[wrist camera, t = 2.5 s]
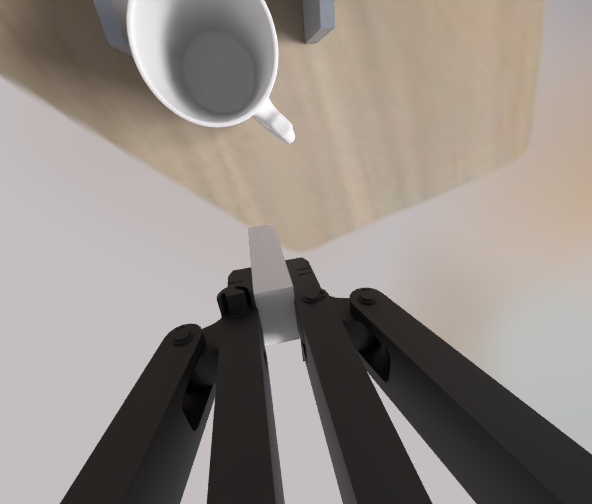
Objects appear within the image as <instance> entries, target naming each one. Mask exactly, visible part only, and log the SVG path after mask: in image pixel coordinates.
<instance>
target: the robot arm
mask: <svg viewBox="0 0 592 504" xmlns="http://www.w3.org/2000/svg"><path fill="white" fill-rule="evenodd" d="M248 234H249V245H250V257H251V268H245V269H240V270H234V271H232V273H231V274H230V275H229V277H228V287H227V288H225V289H223V290H222V291H221V292H220V293H219V294H218V296H217V302H218V305H219V308H220V311H221V315H222V318H221V319H220V320H219V321H217V322H216V323H214V324H212V325H210V326H208V327H206V328H203V329H201V327H200V326H198V325H196V324H186V325H181V326H179V327H177V328H175V329H174V330H172V331H171V332H169V333H168V334H167V336H166V337H165V338H164V340H163V341H162V343H161V344H160V346H159V347H158V349H157V351H156V352H155V354H154V355H153V357H152V359H151V360H150V362H149V363H148V365H147V366H146V368H145V370H144V371H143V373H142V374H141V376H140V378H139V379H138V381H137V382H136V384H135V386H134V387H133V389H132V390H131V392H130V393H129V395H128V397H127V398H126V400H125V402H124V403H123V405H122V406H121V408H120V409H119V411H118V413H117V414H116V416H115V417H114V419H113V420H112V422H111V424H110V425H109V427H108V428H107V430H106V432H105V433H104V435H103V436H102V438H101V440H100V441H99V443H98V444H97V446H96V447H95V449H94V451H93V452H92V454H91V455H90V457H89V458H88V460H87V462H86V463H85V465H84V466H83V468H82V470H81V471H80V473H79V475H78V476H77V478H76V479H75V481H74V482H73V484H72V485H71V487H70V489H69V490H68V492H67V493H66V495H65V497H64V498H63V500H62V501H61V503H60V504H180V502H181V499H182V496H183V493H184V489H185V487H186V483H187V481H188V478H189V474H190V471H191V468H192V465H193V462H194V459H195V456H196V453H197V450H198V447H199V444H200V441H201V438H202V435H203V432H204V429H205V426H206V423H207V420H208V417H209V414H210V411H211V407H212V404H213V401H214V398H215V407H214V419H213V432H212V445H211V458H210V470H209V483H208V495H207V504H285V502H284V494H283V487H282V478H281V470H280V461H279V453H278V445H277V436H276V428H275V420H274V413H273V403H272V396H271V387H270V379H269V370H268V362H267V355H266V350H265V346H268V345H273V344H277V343H282V342H287V341H291V340H296V339H299V338H300V339H301V347H302V355H303V361H305V363H306V366H307V370H308V374H309V378H310V381H311V385H312V389H313V393H314V396H315V400H316V404H317V407H318V412H319V415H320V419H321V423H322V426H323V430H324V434H325V438H326V442H327V445H328V449H329V453H330V457H331V460H332V463H333V467H334V471H335V475H336V479H337V483H338V486H339V490H340V494H341V498H342V502H343V504H432V502H431V500H430V498H429V496H428V494H427V492H426V490H425V488H424V486H423V484H422V482H421V480H420V478H419V476H418V474H417V472H416V470H415V468H414V466H413V464H412V462H411V460H410V458H409V456H408V454H407V452H406V450H405V448H404V446H403V443H402V442H401V439H400V437H399V435H398V433H397V431H396V429H395V427H394V425H393V423H392V421H391V419H390V417H389V415H388V413H387V411H386V409H385V407H384V405H383V403H382V401H381V399H380V397H379V395H378V393H377V391H376V389H375V387H374V385H373V383H372V381H371V379H370V377H369V375H368V373H369V374H370V375H371V376H372V378H373V379H374V380H375V382H376V383H377V384H378V385H379V386H380V388H381V389H382V390H383V391H384V392H385V393H386V395H387V396H388V397H389V398H390V400H391V401H392V402H393V403H394V404H395V406H396V407H397V408H398V409H399V411H401V413H402V414H403V415H404V416H405V418H406V419H407V420H408V421H409V423H410V424H411V425H412V426H413V427H414V429H415V430H416V431H417V432H418V433H419V434H420V436H421V437H422V438H423V440H424V441H425V442H426V443H427V444H428V446H429V447H430V448H431V449H432V450H433V452H434V453H435V454H436V455H437V456H438V458H439V459H440V460H441V461H442V462H443V464H444V465H445V466H446V467H447V468H448V470H449V471H450V472H451V473H452V475H453V476H454V477H455V478H456V479H457V481H458V482H459V483H460V484H461V485H462V486H463V488H464V489H465V490H466V491H467V493H468V494H469V495H470V496H471V497H472V499H473V500H474V501H475V502H476V503H477V504H592V454H590V453H589V452H588V451H586V450H585V449H584V448H582V447H581V446H580V445H578V444H577V443H576V442H575V441H573V440H572V439H571V438H569V437H568V436H567V435H566V434H564V433H563V432H562V431H560V430H559V429H558V428H556V427H555V426H554V425H553V424H551V423H550V422H549V421H547V420H546V419H545V418H544V417H542V416H541V415H540V414H538V413H537V412H536V411H534V410H533V409H532V408H531V407H529V406H528V405H527V404H525V403H524V402H523V401H521V400H520V399H519V398H518V397H516V396H515V395H514V394H512V393H511V392H510V391H509V390H507V389H506V388H504V387H503V386H502V385H501V384H499V383H498V382H497V381H496V380H494V379H493V378H492V377H490V376H489V375H488V374H486V373H485V372H484V371H483V370H481V369H480V368H479V367H477V366H476V365H475V364H474V363H472V362H471V361H470V360H468V359H467V358H466V357H464V356H463V355H462V354H461V353H459V352H458V351H456V350H455V349H454V348H453V347H451V346H450V345H449V344H448V343H446V342H445V341H444V340H442V339H441V338H440V337H438V336H437V335H436V334H435V333H433V332H432V331H431V330H429V329H428V328H427V327H426V326H424V325H423V324H422V323H420V322H419V321H418V320H416V319H415V318H414V317H413V316H411V315H410V314H409V313H407V312H406V311H405V310H403V309H402V308H401V307H400V306H398V305H397V304H395V303H394V302H393V301H392V300H390V299H389V298H388V297H387V296H385V295H384V294H383V293H381V292H380V291H378V290H376V289H372V288H360V289H356V290H355V291H353V292H352V293H351V295H350V298H335V297H331V296H329V294H328V293H327V292H326V291H325V290H323V289H321V287H320V285H319V283H318V281H317V279H316V276H315V274H314V273H313V270H312V268H311V266H310V264H309V262H308V261H307V260H305V259H303V258H296V259H291V260H285V259H284V256H283V253H282V250H281V247H280V243H279V240H278V237H277V234H276V231H275V228H274V225H273V224H271V225H265V226H259V227H252V228H248ZM299 335H300V337H299ZM367 372H368V373H367Z"/></svg>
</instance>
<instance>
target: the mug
mask: <svg viewBox="0 0 592 504" xmlns="http://www.w3.org/2000/svg"><path fill="white" fill-rule="evenodd" d="M126 25H127V35H128V41H129V45H130V49H131V53H132V56H133V59H134V61H135V64H136V66H137V68H138V70H139V72H140V74H141V76H142V78H143V80H144V81H145V83H146V84H147V86H148V87H149V89H150V90H151V91H152V93H153V94H154V95H155V96H156V97H157V98H158V99H159V100H160V101H161V102H162V103H163V104H164V105H165V106H166V107H167V108H168V109H170V110H171V111H172V112H174V113H175V114H177V115H178V116H180V117H182V118H183V119H185V120H187V121H190V122H192V123H195V124H198V125H202V126H206V127H227V126H232V125H235V124H238V123H241V122H243V121H245V120H246V119H248V118H250V117H251V116H252V117H253V118H255V119H256V120H257V121H258V122H259V123H260V124H261V125H262V126H263V127H264V128H265V129H266V130H268V131H269V132H270V133H272V134H273V135H275V136H276V137H278V138H279V139H281V140H283V141H284V142H286V143H288V144H290V143H292V142H293V141H294V139H295V135H294V132H293V129H292V124H291V123H290V122H289V121H288V120H287V119H286V118H285V117H284V116H283V115H282V114H281V113H280V112H279V111H278V110H277V109H276V108H275V107H274V105H273V104H272V103H271V101H270V99H269V97H268V96H269V94H270V92H271V90H272V88H273V85H274V82H275V78H276V73H277V67H278V43H277V36H276V31H275V27H274V23H273V20H272V17H271V14H270V12H269V9H268V7H267V5H266V3H265V1H264V0H128V4H127V14H126Z"/></svg>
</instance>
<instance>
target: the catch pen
mask: <svg viewBox="0 0 592 504" xmlns="http://www.w3.org/2000/svg"><path fill="white" fill-rule="evenodd" d="M302 1H303V17H304V32H305V44H311V43H317V42H318V41H319V40H321V39H322V38H323V37H324V36H325V35H326V34H328V33H329V32H330V31H331V30H332V29H333V28H334V27H335V24H334V0H302ZM93 3H94V6H95V9H96V11H97V14H98V17H99V20H100V23H101V26H102V29H103V32H104V34H105V37H106V40H107V43H108V45H110V46H112V47H114V48H116V49H118V50H120V51H122V52H124V53H126V54H127V55H129V56H131V57H133V56H132V53H131V49H130V45H129V41H128V35H127V25H126V14H127V4H128V0H93Z"/></svg>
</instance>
